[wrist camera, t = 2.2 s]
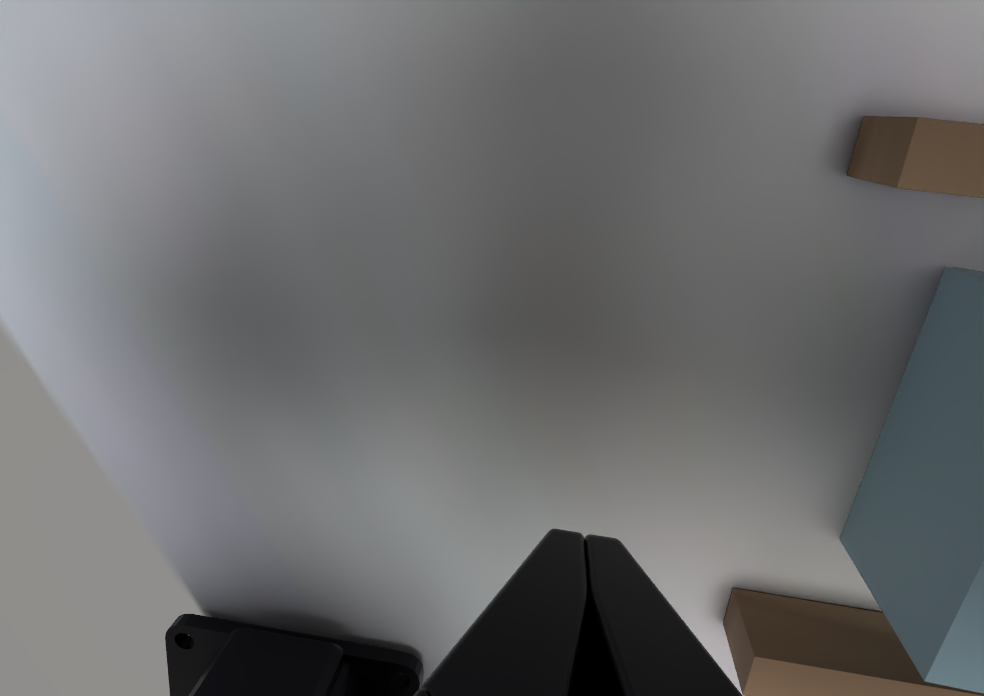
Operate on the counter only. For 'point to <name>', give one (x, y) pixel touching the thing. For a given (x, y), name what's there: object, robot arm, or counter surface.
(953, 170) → the brown bars
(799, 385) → the counter surface
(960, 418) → the slate block
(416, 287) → the counter surface
